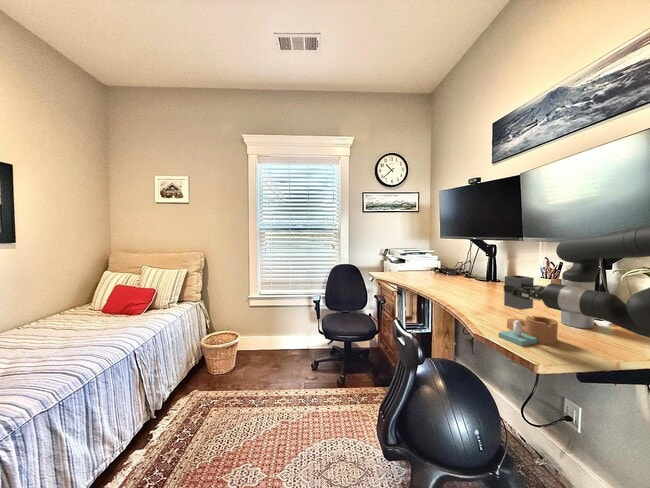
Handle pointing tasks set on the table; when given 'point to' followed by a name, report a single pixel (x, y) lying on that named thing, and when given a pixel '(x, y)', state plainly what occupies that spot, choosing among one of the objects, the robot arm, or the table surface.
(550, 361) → the table surface
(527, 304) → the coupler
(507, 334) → the shaft mount
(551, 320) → the bracket
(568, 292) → the robot arm
